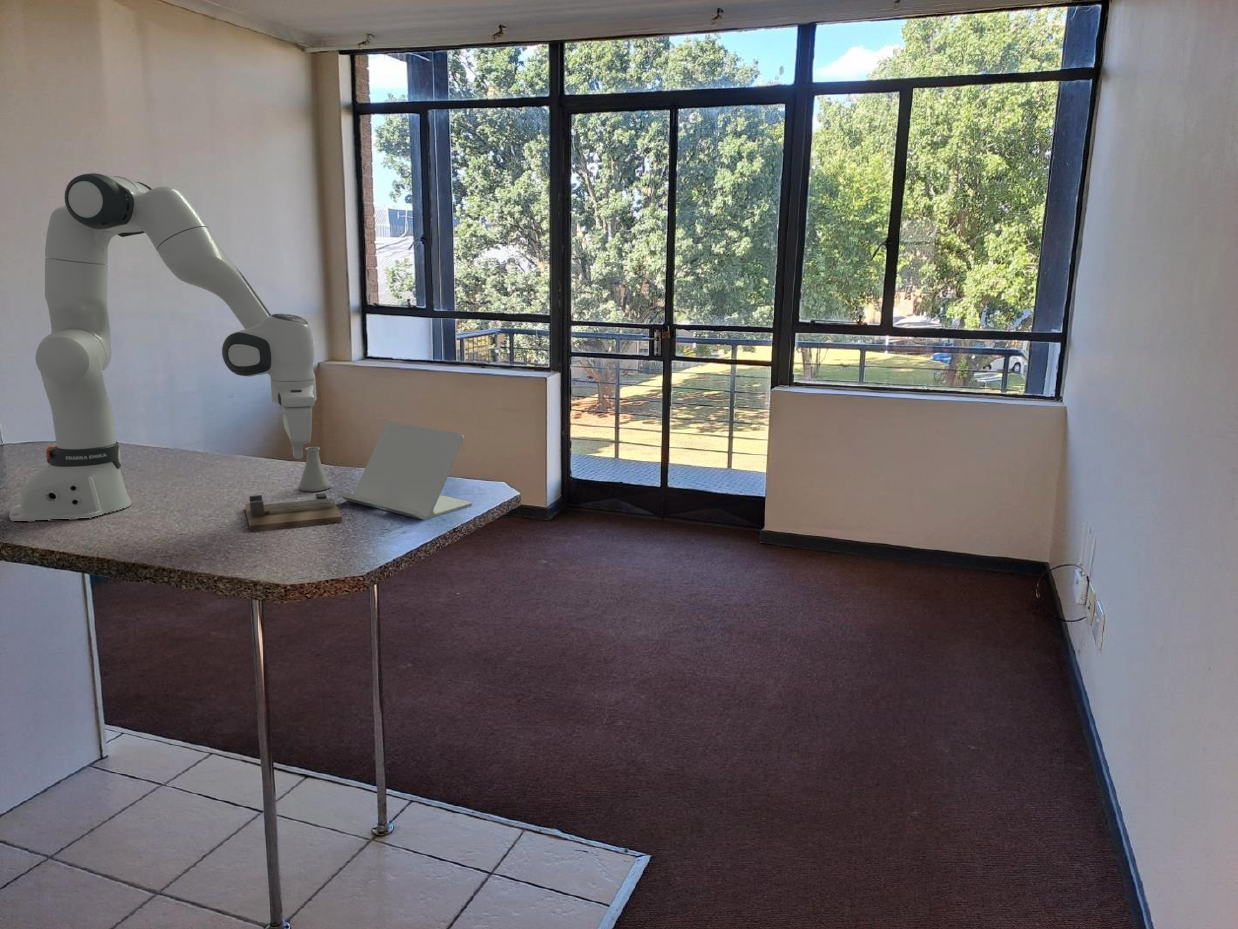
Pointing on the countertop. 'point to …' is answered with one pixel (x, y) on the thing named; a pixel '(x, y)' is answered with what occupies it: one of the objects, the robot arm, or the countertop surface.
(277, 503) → the upper tong arm
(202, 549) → the countertop surface
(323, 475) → the flask
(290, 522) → the walnut board
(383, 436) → the tablet stand
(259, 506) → the lower tong arm
